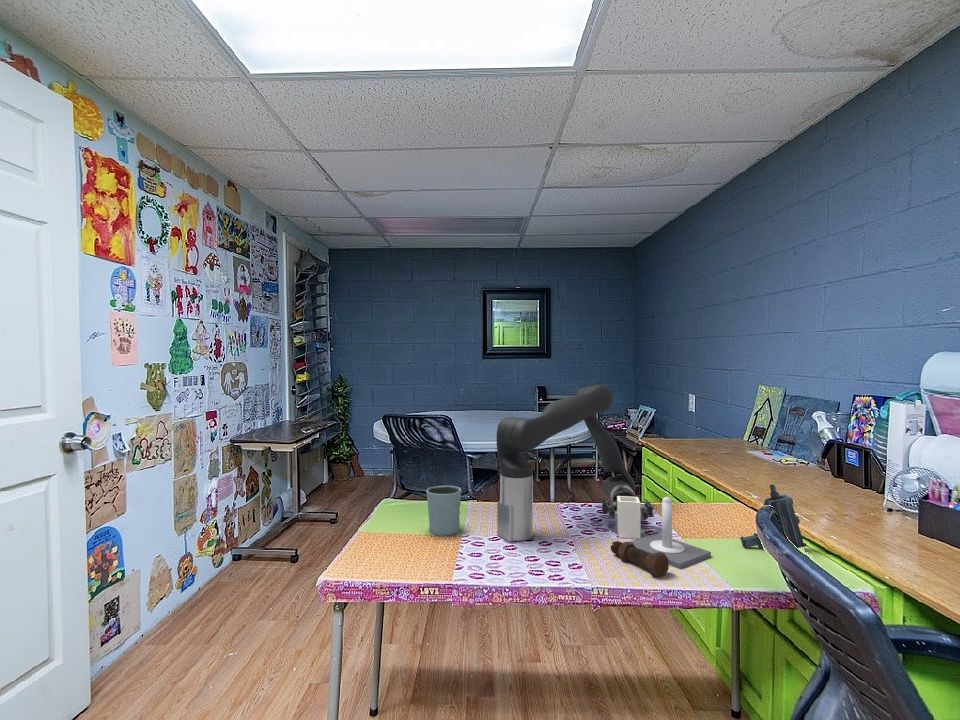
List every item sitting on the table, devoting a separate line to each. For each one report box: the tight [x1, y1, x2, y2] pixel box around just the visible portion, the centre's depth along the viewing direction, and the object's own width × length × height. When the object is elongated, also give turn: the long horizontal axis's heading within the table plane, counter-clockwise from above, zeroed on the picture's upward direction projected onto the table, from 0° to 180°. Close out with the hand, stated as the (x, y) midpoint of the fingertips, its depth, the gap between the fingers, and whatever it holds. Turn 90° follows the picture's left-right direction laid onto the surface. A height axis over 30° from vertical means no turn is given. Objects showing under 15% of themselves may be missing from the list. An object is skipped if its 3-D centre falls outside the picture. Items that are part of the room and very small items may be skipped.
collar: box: [616, 496, 641, 540], centre depth 140 cm, size 6×6×10 cm
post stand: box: [629, 496, 712, 570], centre depth 127 cm, size 13×16×14 cm
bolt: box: [610, 540, 670, 578], centre depth 119 cm, size 6×5×15 cm
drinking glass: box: [425, 485, 462, 537], centre depth 143 cm, size 10×10×12 cm
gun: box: [739, 483, 808, 549], centre depth 129 cm, size 3×17×15 cm
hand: (629, 515), depth 138 cm, fingers open, 8 cm apart
